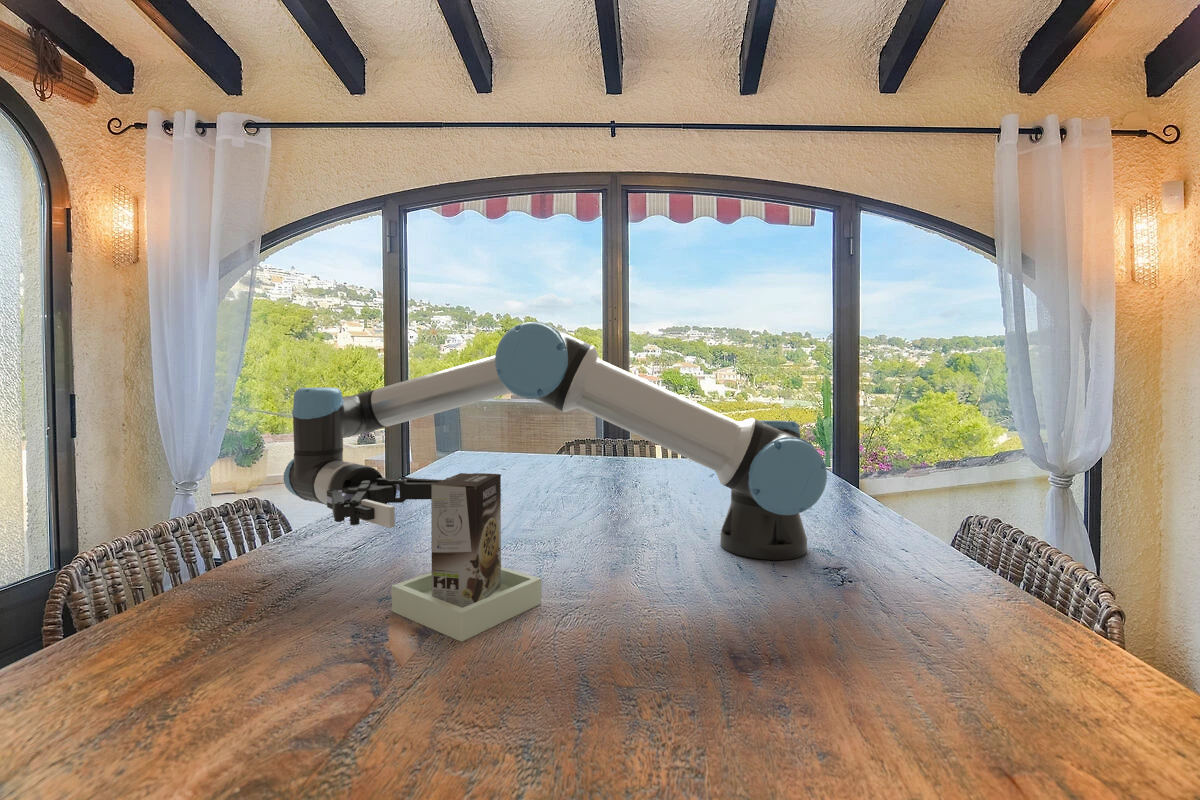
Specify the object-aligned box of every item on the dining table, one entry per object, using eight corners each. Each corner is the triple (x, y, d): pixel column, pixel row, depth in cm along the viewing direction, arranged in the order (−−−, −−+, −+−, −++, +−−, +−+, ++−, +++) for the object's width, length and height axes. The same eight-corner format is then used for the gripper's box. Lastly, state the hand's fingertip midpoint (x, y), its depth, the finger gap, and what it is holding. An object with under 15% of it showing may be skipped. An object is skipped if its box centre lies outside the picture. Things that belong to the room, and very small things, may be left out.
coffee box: (476, 612, 74) (475, 486, 73) (430, 607, 75) (428, 483, 74) (503, 585, 82) (502, 472, 81) (461, 581, 84) (460, 470, 83)
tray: (541, 603, 80) (541, 578, 80) (461, 641, 69) (461, 612, 69) (473, 580, 88) (473, 557, 88) (391, 611, 77) (391, 585, 77)
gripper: (416, 496, 104) (500, 515, 91) (269, 526, 84) (351, 556, 71) (416, 454, 103) (500, 468, 91) (268, 475, 83) (350, 496, 71)
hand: (435, 507), depth 81 cm, fingers open, 13 cm apart
